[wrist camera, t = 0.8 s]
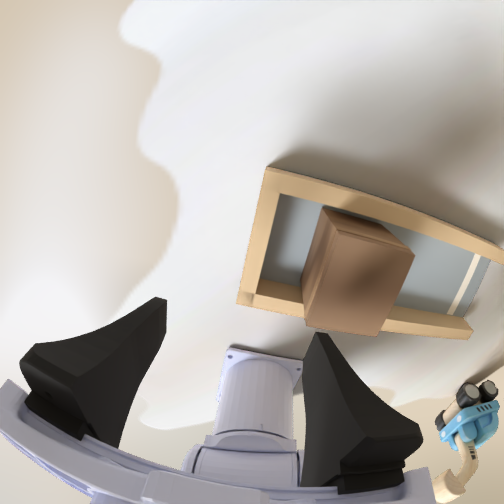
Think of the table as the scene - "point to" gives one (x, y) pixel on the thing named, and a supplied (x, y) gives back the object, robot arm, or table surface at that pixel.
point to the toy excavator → (466, 434)
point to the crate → (352, 274)
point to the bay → (379, 211)
